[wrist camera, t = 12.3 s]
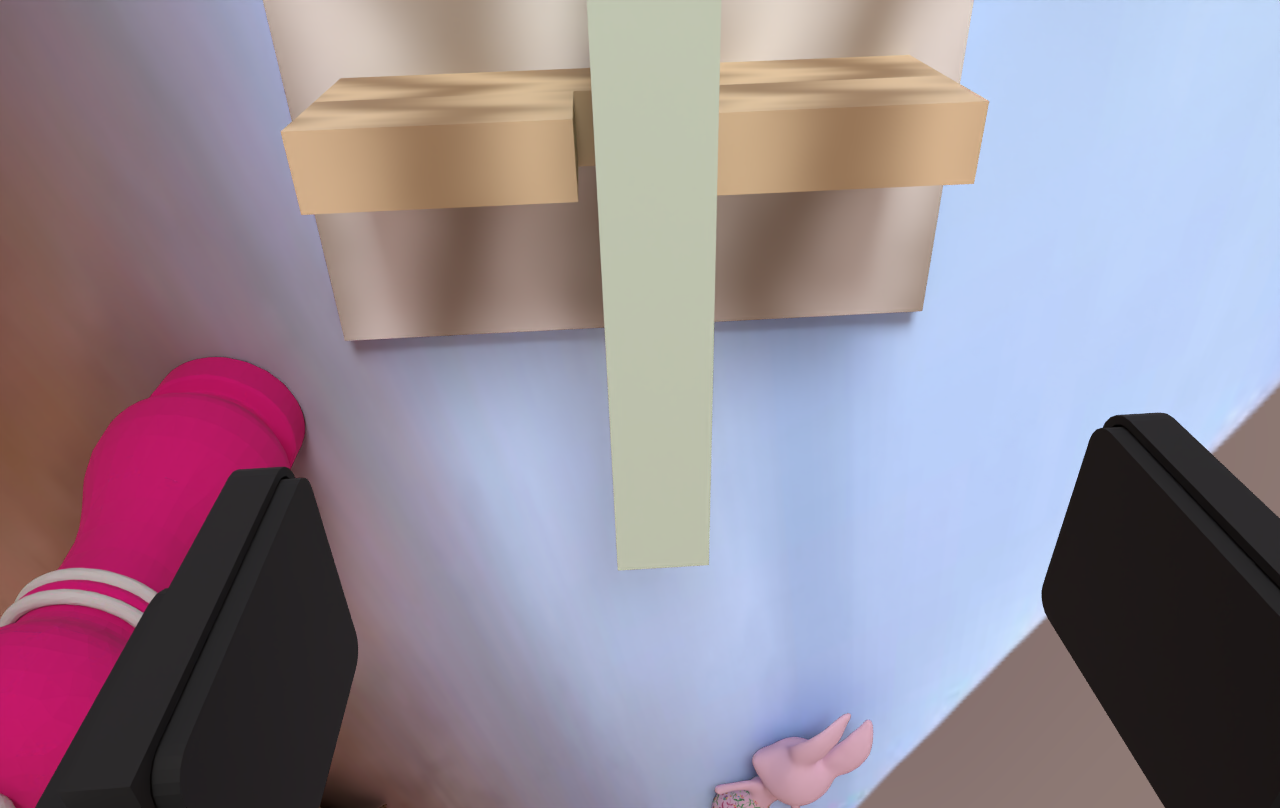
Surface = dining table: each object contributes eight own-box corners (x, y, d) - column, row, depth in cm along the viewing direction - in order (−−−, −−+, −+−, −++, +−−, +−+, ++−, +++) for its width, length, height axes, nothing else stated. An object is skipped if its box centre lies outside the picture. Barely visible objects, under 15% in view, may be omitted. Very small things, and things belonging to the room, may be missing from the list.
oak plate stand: (350, 329, 36) (296, 437, 29) (227, -193, 26) (104, -212, 19) (914, 300, 37) (989, 399, 30) (996, -217, 27) (1134, -242, 20)
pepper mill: (267, 325, 36) (-15, 742, 19) (345, 459, 39) (169, 906, 23) (110, 370, 36) (-298, 811, 19) (202, 497, 40) (-74, 958, 23)
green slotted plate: (577, -188, 26) (573, -235, 13) (655, -190, 26) (726, -240, 13) (604, 315, 35) (617, 570, 22) (662, 312, 35) (708, 565, 22)
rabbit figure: (756, 804, 58) (898, 704, 50) (764, 900, 54) (921, 808, 45) (677, 783, 57) (809, 675, 48) (678, 880, 52) (825, 780, 43)
